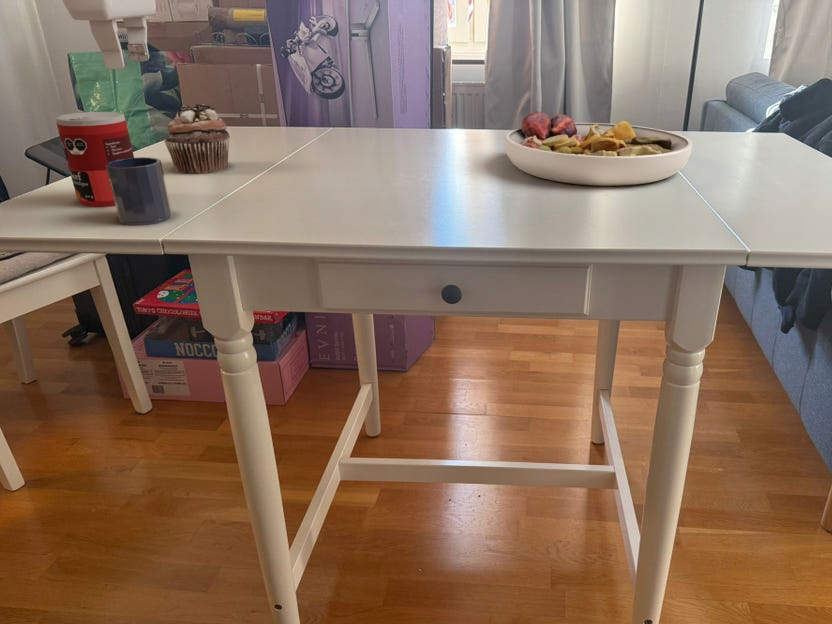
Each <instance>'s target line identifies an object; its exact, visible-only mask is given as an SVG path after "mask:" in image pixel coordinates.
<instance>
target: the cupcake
mask: <svg viewBox="0 0 832 624" xmlns="http://www.w3.org/2000/svg"><path fill="white" fill-rule="evenodd" d="M227 128H228V125H227V123H226V122H225V120H224V119H222V118H221V117H220V116H218V113H217V112H216V110H215V108H214V106H212V105H207V104H206V103H205V102H203V103H197V104H195V106H191V105H188V104H186V103H182V107H181V108H179V110H178V111H177V113H176V115H175V117H174V118H173V120H171V121H170V122H168V123H167V133H169V134H168V135H167V137H166V138H164V139H163V142H164V144H165V147H166V149H167V152H168V153H169V156H170V159H171V162H172V164H173V165H174V169H175V171H176V172H178V173H180V174H185V175H202V174H203V175H205V174H206V175H207V174H211V173H218V172H222V171H225V170H226V169H228V167H229V150H230V149H229V147H230V138H231V137H230V134H229V132H228V131H227Z"/></svg>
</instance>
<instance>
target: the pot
mask: <svg viewBox="0 0 832 624" xmlns="http://www.w3.org/2000/svg"><path fill="white" fill-rule="evenodd" d="M105 166H106V170H107V174H108V178H109V182H110V186H111V190H112V194H113V197H114V201H115V205H116V206H115V209H116V213H117V217H118V219H119V222H120V224H122V225H125V226H134V227H135V226H137V227H138V226H150V225H156V224H161V223H164V222H166V221H169V220H171V219H172V218H173V211H172V207H171V202H170V201H171V200H170V196H169V193H168V188H167V184H166V178H165V173H164V169H163V168H164V167H163V163H162V160H161V159H160V158H156V157H143V156H142V157H141V156H139V157H134V158H126V159H119V160H114V161H111V162H108V163H107V164H106V165H105Z"/></svg>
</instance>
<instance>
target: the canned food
mask: <svg viewBox="0 0 832 624" xmlns="http://www.w3.org/2000/svg"><path fill="white" fill-rule="evenodd" d="M55 121H56V122H55V123H56V127H57V130H58V131H57V132H58V135H59V139H60V142H61V145H62V149H63V153H64V156H65V160H66V163H67V168H68V171H69V174H70V177H71V181H72V185H73V187H74V190H75V191H74V192H75V195H76V199H77V200H78V202H79V203H80V205H82V206H84V207H90V208H108V207H109V208H110V207H116V205H115V201H114V197H113V194H112V190H111V186H110V182H109V178H108V174H107V170H106V166H105V165H106V164H107V163H108V162H111V161H114V160H119V159H126V158H135V154H134V149H133V146H132V142H131V138H130V133H129V128H128V124H127V120H126V118H125V114H124V113H121V112H118V111H117V112H116V111H84V112H74V113H67V114H62V115H59V116H57V117H55Z"/></svg>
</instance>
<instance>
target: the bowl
mask: <svg viewBox="0 0 832 624" xmlns="http://www.w3.org/2000/svg"><path fill="white" fill-rule="evenodd" d="M504 148H505V152H506V155H507V157H508V159H509V161H511V163H512V164H513V165H514V166H515V167H517V168H518V169H519V170H521V172H524V173H526V174H528V175H531V176H532V177H533V176H534V177H537V178H540V179H543V180H547V181H553V182H559V183H564V184H572V185H583V186H603V187H613V186H614V187H616V186H617V187H618V186H619V187H620V186H635V185H636V186H637V185H643V184H648V183H654V182H659V181H662V180H665V179H668V178H670V177H672V176H674V175H675V174H677V173H678V172H680V171H681V170H682V169H683V168H684V167H685V166H686V164H687V163H688V161H689V159H690V157H691V155H692V152H693V151H692V150H693V140H691V139H690V138H688V137H686V136H684V135H682V134H679V133H676V132H672V131H668V130H664V129H659V128H653V127H647V126H641V125H632V124H630V123H629V122H628V121H626V120H621V121H619V122H618V123H606V122H605V123H604V122H603V123H602V122H575V121H574V120H573V119H572V118H571V117H570V116H569V115H566V114H563V113H561V114H555V115H554V116H552V118H550V116H549V115H548V114H547V113H545V112H543V111H537V110H535V111H534V112H531V113H530V114H527V115H526V116H525V117H524V118H523V119H522V121H521V127H519V128H515V129H512V130H510V131H508V132H507V133H506V134H505V136H504Z"/></svg>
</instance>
